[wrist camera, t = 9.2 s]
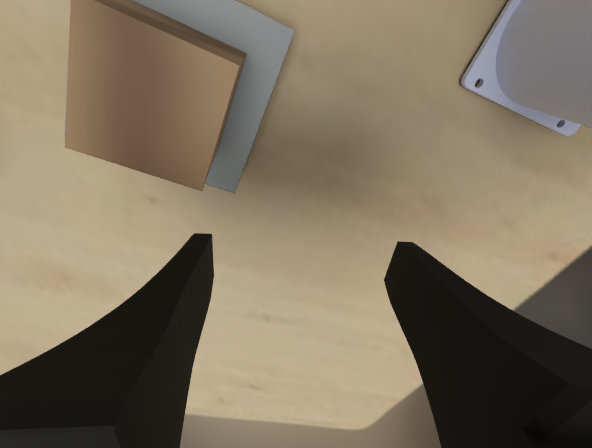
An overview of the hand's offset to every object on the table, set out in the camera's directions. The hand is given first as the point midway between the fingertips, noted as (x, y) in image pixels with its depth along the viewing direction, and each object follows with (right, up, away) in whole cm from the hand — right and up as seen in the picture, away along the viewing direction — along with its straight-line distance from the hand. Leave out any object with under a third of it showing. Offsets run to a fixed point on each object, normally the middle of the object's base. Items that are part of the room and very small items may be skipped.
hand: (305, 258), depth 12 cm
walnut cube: (-6, +8, +3) cm, 11 cm away
